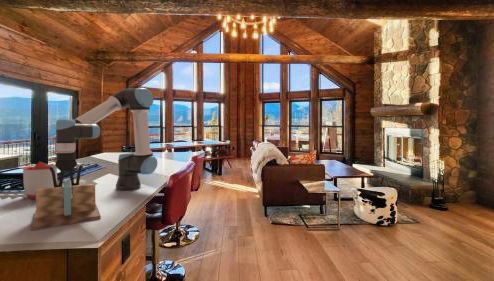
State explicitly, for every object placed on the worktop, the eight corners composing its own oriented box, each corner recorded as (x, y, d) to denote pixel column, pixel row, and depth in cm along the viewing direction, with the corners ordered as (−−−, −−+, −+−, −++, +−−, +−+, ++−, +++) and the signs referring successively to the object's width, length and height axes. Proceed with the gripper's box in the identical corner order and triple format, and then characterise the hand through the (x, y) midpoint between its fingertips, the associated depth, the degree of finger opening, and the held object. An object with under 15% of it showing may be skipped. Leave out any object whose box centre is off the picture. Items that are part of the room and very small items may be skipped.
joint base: (95, 204, 136) (94, 179, 135) (100, 218, 117) (100, 189, 116) (36, 212, 122) (35, 184, 121) (31, 230, 103) (30, 196, 102)
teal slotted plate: (69, 202, 128) (69, 178, 127) (71, 214, 112) (70, 187, 111) (63, 203, 126) (63, 179, 126) (64, 215, 110) (63, 187, 110)
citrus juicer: (52, 190, 161) (52, 158, 160) (61, 196, 150) (61, 161, 149) (19, 195, 149) (18, 161, 148) (27, 202, 138) (25, 164, 137)
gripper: (45, 153, 115) (46, 205, 117) (86, 152, 124) (86, 200, 126) (45, 151, 122) (46, 201, 123) (84, 150, 130) (85, 196, 132)
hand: (67, 200), depth 124 cm, fingers closed on teal slotted plate, 2 cm apart
